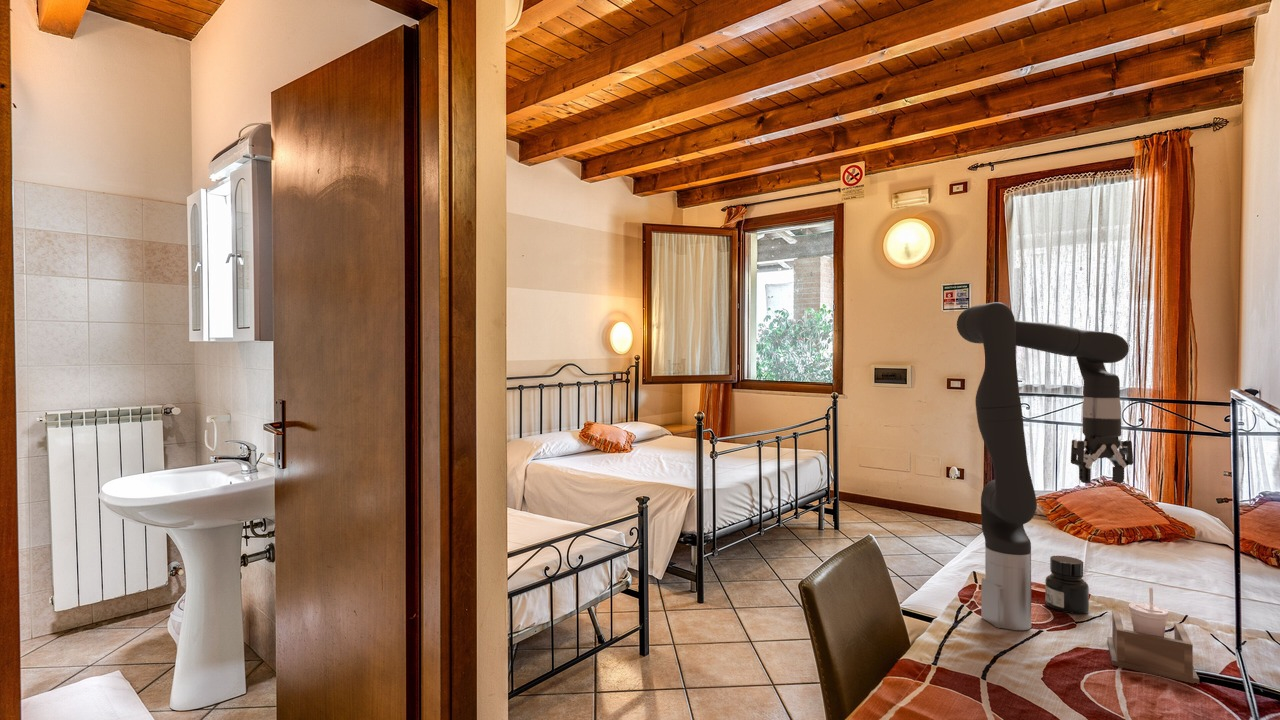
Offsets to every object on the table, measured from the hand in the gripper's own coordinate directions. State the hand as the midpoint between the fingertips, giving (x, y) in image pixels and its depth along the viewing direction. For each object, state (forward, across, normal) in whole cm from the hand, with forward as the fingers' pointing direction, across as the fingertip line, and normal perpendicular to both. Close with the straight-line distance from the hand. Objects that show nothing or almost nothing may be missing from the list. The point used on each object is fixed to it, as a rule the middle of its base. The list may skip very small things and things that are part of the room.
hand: (1101, 482), depth 146 cm
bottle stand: (+32, -10, -22) cm, 40 cm away
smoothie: (+31, -10, -22) cm, 39 cm away
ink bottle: (+32, -5, +5) cm, 33 cm away
